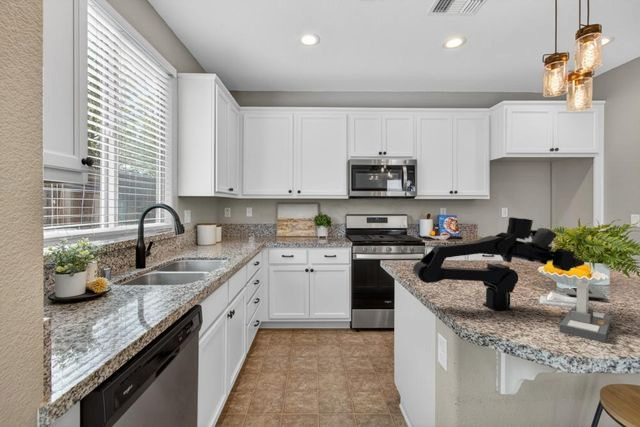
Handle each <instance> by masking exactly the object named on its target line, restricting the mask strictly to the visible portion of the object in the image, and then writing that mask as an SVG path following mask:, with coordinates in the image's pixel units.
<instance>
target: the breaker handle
mask: <svg viewBox="0 0 640 427" xmlns="http://www.w3.org/2000/svg"><path fill="white" fill-rule="evenodd" d="M590 286H591V281H590V280H589V281H588V280H581V279H579V280H577V281H576V283H575V287H577V297H576V298H577V306H576V312H582V313H587V312H588V308H589V299H588V298H589V289H590Z"/></svg>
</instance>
